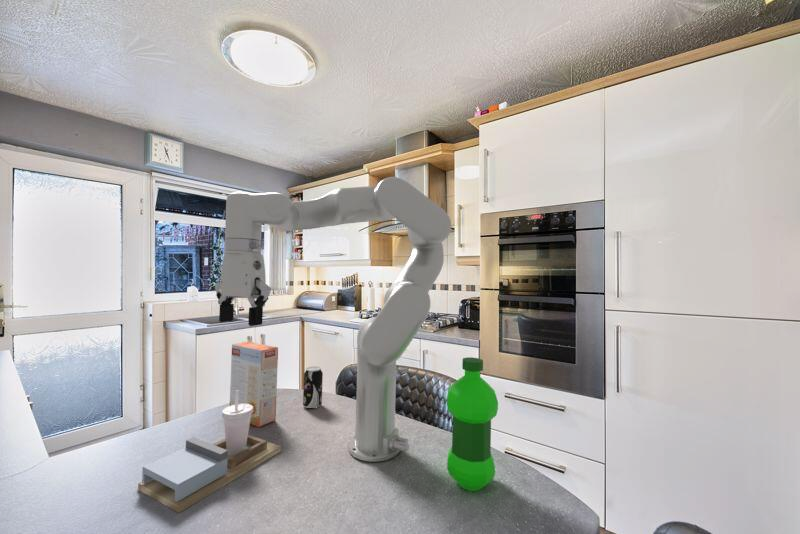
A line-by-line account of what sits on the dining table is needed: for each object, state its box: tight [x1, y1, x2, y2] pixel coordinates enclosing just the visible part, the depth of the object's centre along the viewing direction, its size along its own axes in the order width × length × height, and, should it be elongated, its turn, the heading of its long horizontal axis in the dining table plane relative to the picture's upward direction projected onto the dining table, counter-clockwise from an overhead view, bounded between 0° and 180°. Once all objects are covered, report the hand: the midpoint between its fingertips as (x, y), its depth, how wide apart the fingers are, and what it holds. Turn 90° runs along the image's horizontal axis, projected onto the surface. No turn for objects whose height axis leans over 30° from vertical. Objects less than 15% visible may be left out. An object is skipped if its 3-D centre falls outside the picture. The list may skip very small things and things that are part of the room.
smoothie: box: [221, 390, 253, 457], centre depth 75 cm, size 6×6×14 cm
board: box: [137, 433, 282, 514], centre depth 71 cm, size 13×23×3 cm, turn 153°
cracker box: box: [229, 341, 279, 428], centre depth 96 cm, size 14×6×21 cm, turn 58°
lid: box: [141, 436, 228, 502], centre depth 65 cm, size 11×10×4 cm
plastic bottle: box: [446, 356, 499, 492], centre depth 68 cm, size 10×10×25 cm
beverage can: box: [302, 366, 324, 409], centre depth 105 cm, size 6×6×12 cm
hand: (240, 323), depth 75 cm, fingers open, 9 cm apart
